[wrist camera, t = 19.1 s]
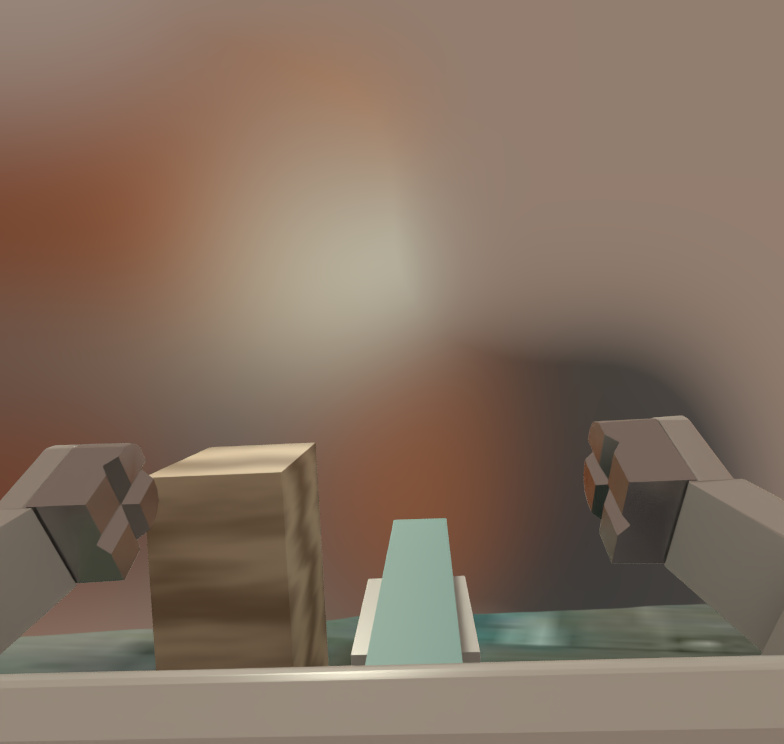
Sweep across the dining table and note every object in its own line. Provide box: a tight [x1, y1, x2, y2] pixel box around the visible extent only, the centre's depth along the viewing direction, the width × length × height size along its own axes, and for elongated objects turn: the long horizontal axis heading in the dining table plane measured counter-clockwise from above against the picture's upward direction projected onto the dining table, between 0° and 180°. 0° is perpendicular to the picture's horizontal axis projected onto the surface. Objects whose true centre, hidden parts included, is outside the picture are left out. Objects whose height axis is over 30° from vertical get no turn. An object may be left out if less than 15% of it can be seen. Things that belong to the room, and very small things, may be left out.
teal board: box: [365, 518, 463, 665], centre depth 33 cm, size 28×4×2 cm, turn 176°
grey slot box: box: [351, 576, 480, 666], centre depth 35 cm, size 10×7×16 cm
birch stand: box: [147, 443, 328, 671], centre depth 36 cm, size 10×8×26 cm
